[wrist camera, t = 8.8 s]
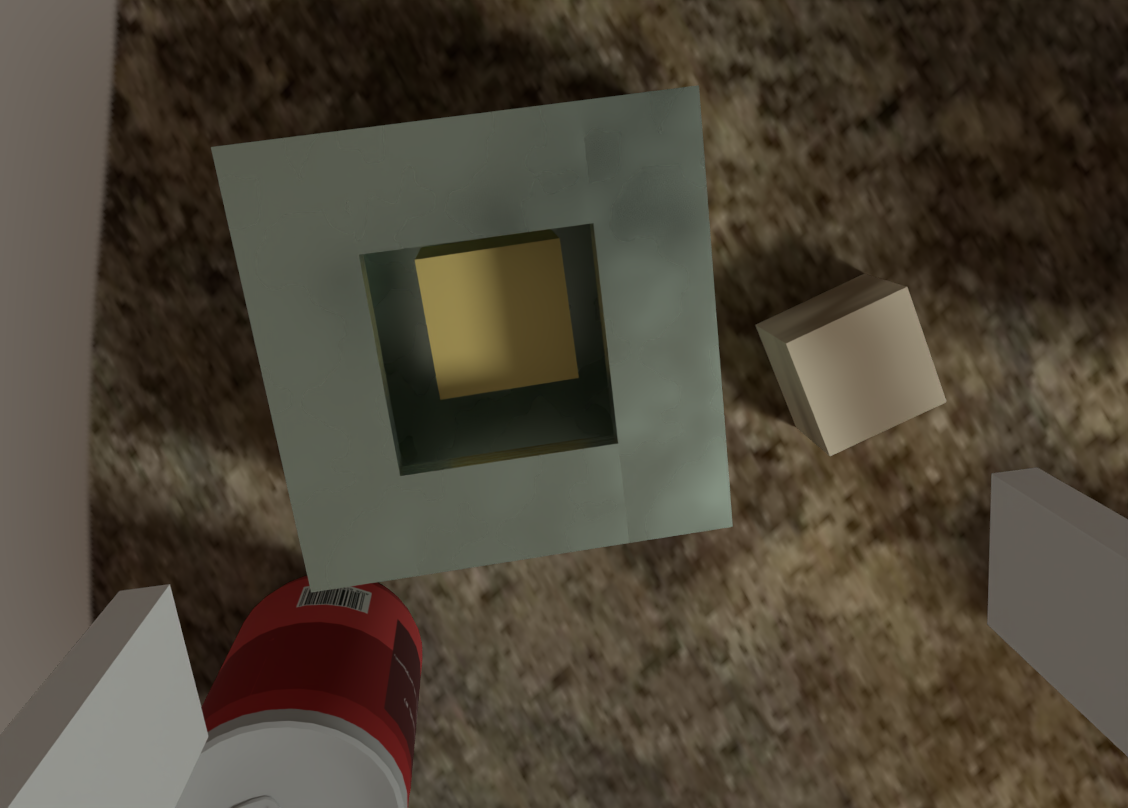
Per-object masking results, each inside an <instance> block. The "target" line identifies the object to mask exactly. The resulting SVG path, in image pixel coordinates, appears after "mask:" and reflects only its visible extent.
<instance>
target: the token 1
mask: <svg viewBox="0 0 1128 808" xmlns="http://www.w3.org/2000/svg"><path fill="white" fill-rule="evenodd" d="M415 265H416V270H417V275H418V281H419V286H420V292H421V297H422V303H423V308H424V314H425V319H426V324H427V330H428V335H429V341H430V346H431V352H432V357H433V363H434V368H435V373H436V379H437V384H438V390H439V395H440V400H442V399H449V398H455V397H461V396H468V395H474V394H480V393H487V392H493V391H499V390H506V389H512V388H518V387H525V386H531V385H537V384H543V383H550V382H556V381H562V380H569V379H575V378H579V375H578V368H577V361H576V353H575V346H574V339H573V331H572V324H571V317H570V310H569V302H568V295H567V288H566V280H565V273H564V266H563V259H562V251H561V244H560V238H559V237H558V236H557V235H556V234H555V233H554V232H553V231H552V230H551V229H547V230H539V231H532V232H525V233H517V234H510V235H504V236H497V237H490V238H484V239H477V240H470V241H463V242H457V243H450V244H443V245H437V246H430V247H423V248H421V249H420V251H419V253H418V255H417V256H416V258H415Z"/></svg>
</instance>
